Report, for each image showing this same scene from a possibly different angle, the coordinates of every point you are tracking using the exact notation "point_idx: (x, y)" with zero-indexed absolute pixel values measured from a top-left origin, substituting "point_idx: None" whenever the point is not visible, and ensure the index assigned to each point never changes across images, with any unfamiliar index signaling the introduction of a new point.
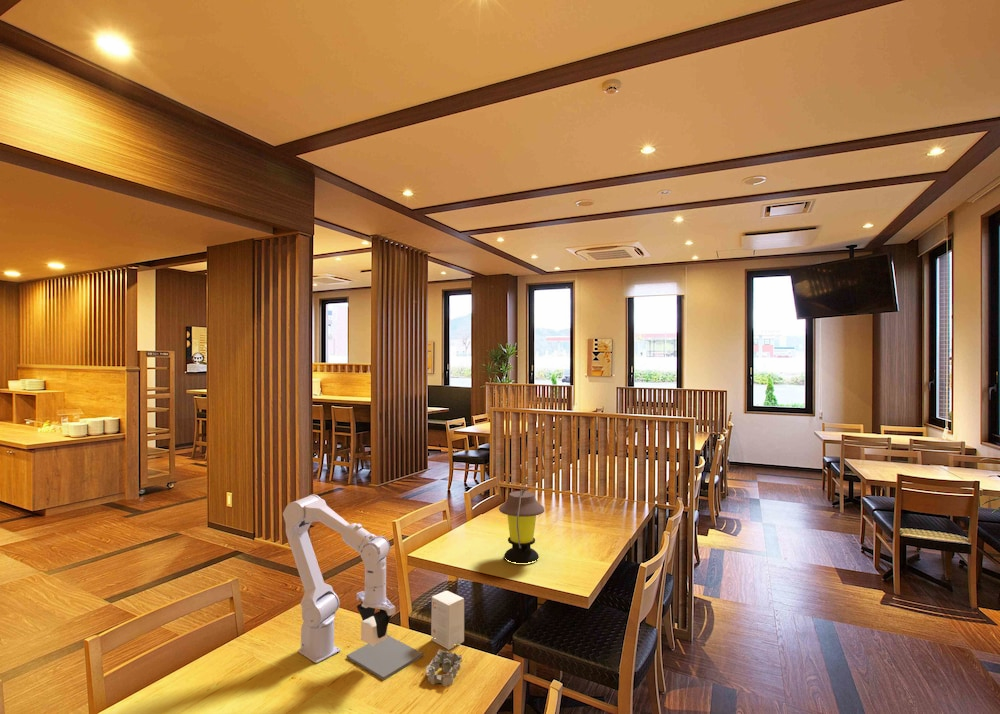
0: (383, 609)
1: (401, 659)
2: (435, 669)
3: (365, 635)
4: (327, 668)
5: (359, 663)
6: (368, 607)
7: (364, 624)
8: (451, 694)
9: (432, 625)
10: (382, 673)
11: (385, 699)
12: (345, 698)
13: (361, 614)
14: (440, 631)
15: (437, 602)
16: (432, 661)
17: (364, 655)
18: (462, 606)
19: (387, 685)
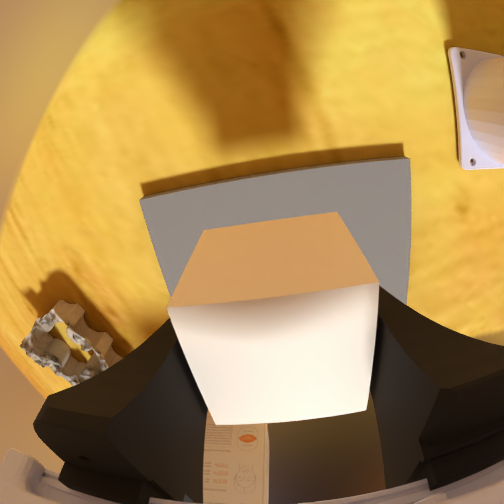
0: (32, 497)
1: None
2: (110, 345)
3: (288, 238)
4: (391, 57)
5: (312, 168)
6: (405, 444)
7: (314, 284)
8: (16, 306)
9: (256, 450)
10: (165, 208)
11: (51, 154)
12: (135, 30)
13: (435, 337)
14: (215, 445)
15: None
16: (104, 358)
17: (349, 215)
18: None
19: (109, 193)
